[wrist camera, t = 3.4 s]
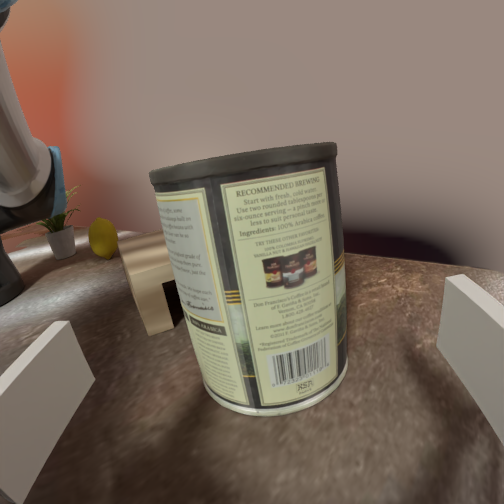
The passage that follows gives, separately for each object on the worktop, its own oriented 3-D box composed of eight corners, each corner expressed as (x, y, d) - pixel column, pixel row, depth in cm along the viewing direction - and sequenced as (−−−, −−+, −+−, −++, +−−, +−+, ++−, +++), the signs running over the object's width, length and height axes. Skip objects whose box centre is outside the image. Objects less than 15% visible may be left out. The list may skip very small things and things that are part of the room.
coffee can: (269, 314, 28) (245, 152, 24) (374, 348, 21) (368, 139, 16) (173, 372, 22) (120, 176, 17) (278, 445, 14) (231, 153, 10)
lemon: (116, 262, 52) (104, 217, 49) (90, 266, 52) (78, 223, 50) (126, 252, 57) (116, 211, 55) (102, 256, 57) (92, 216, 55)
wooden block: (128, 283, 41) (116, 241, 39) (233, 252, 47) (226, 212, 45) (148, 336, 27) (129, 275, 25) (296, 283, 33) (290, 228, 32)
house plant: (109, 243, 67) (94, 173, 62) (64, 266, 55) (44, 186, 50) (75, 245, 73) (61, 184, 68) (34, 265, 61) (16, 197, 56)
